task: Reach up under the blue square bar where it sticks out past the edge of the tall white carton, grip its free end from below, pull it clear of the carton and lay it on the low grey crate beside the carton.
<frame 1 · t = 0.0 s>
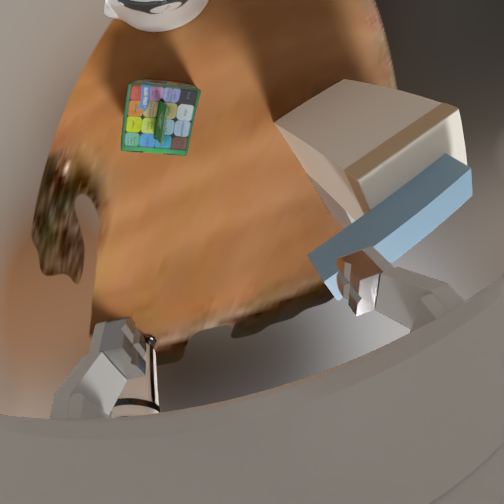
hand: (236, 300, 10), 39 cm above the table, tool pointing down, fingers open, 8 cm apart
coffee press: (130, 345, 70), on the table
chalk box: (163, 108, 38), on the table
carton: (325, 125, 46), on the table
blue square bar: (389, 212, 27), point 26 cm above the table, touching carton
crate: (349, 172, 53), on the table
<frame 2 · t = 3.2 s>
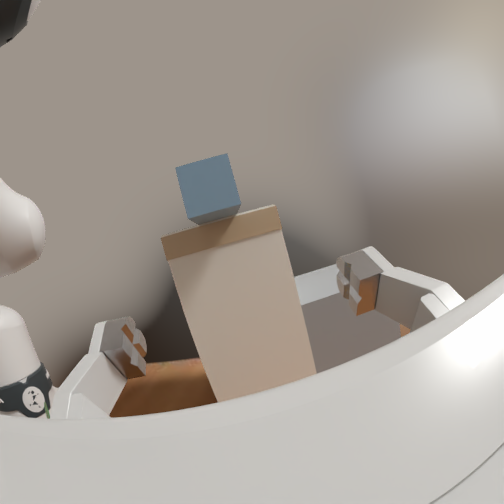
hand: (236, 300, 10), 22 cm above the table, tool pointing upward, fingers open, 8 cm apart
carton: (269, 395, 37), on the table
blue square bar: (217, 220, 30), point 26 cm above the table, touching carton
crate: (343, 369, 38), on the table
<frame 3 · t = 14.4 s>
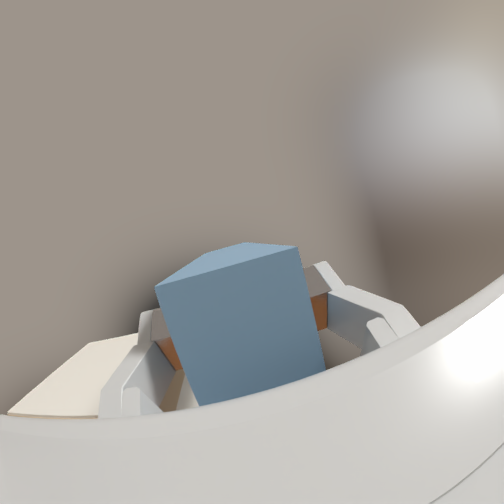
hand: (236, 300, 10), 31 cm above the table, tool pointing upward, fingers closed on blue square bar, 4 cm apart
blue square bar: (242, 312, 17), point 28 cm above the table, touching gripper
when the fingers open (19 cm above the table, at t = 16.8 s): blue square bar drops 2 cm, resting on crate.
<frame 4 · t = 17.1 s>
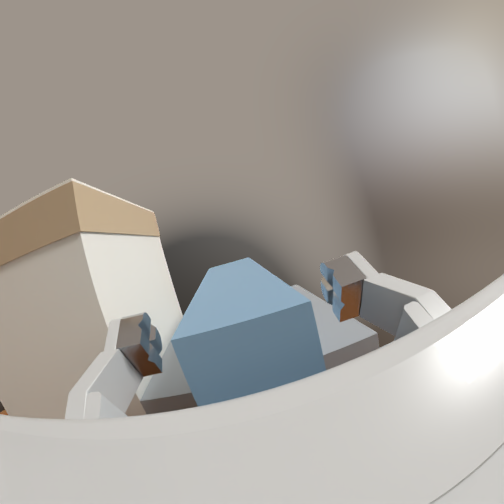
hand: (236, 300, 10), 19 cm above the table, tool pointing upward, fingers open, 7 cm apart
carton: (172, 480, 20), on the table
blue square bar: (248, 334, 17), point 15 cm above the table, touching crate
crate: (289, 459, 21), on the table
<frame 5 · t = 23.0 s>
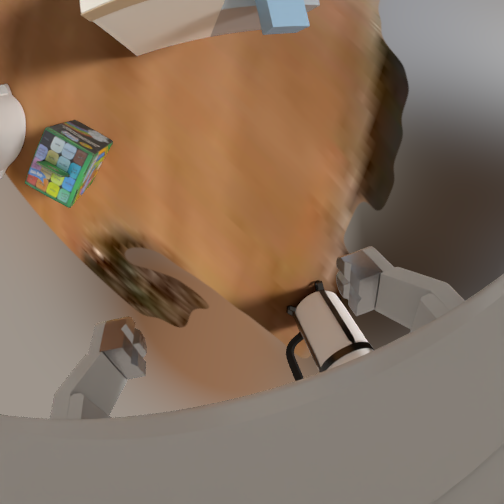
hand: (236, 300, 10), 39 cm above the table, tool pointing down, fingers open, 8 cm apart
coffee press: (310, 306, 69), on the table
chalk box: (82, 152, 38), on the table
carton: (165, 6, 28), on the table
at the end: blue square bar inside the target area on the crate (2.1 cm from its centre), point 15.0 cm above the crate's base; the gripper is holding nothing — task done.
